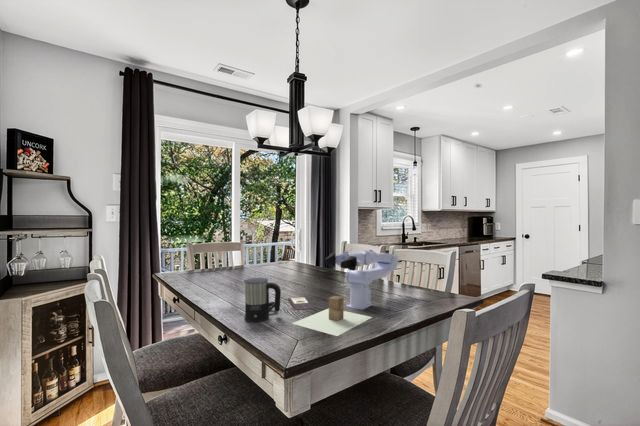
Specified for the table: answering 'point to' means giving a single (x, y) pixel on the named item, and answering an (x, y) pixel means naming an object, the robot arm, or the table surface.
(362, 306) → the robot arm
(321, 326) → the sage mat
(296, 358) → the table surface
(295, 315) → the table surface
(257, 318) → the milk frother
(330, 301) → the walnut block
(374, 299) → the table surface
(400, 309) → the table surface
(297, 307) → the chocolate bar
